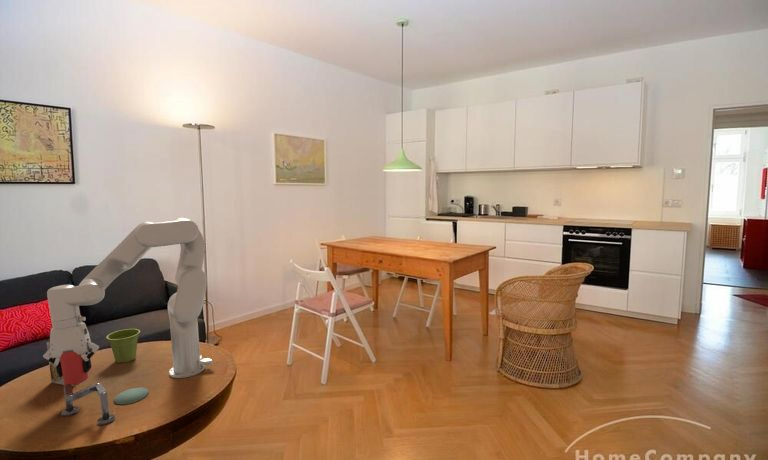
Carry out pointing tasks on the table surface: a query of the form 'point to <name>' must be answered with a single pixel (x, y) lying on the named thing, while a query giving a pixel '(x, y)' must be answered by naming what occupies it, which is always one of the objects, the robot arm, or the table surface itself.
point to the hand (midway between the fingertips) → (75, 372)
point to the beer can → (72, 368)
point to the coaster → (131, 396)
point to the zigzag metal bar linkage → (72, 396)
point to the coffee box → (54, 371)
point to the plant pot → (124, 344)
